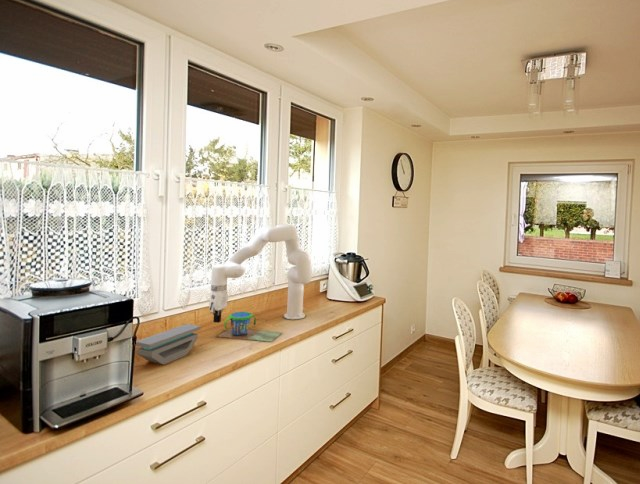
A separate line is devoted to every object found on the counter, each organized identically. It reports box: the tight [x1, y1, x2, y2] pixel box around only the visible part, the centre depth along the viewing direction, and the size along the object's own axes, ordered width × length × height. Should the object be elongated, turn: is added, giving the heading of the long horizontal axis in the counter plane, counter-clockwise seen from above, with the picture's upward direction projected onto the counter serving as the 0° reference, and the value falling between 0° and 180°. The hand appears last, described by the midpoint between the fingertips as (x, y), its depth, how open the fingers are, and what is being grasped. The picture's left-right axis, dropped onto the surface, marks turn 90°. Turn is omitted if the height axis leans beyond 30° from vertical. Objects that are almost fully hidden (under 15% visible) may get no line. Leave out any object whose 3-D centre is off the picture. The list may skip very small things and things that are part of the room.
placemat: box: [216, 327, 282, 343], centre depth 190 cm, size 13×29×1 cm, turn 85°
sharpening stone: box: [135, 323, 201, 366], centre depth 157 cm, size 25×8×11 cm, turn 164°
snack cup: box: [223, 311, 257, 335], centre depth 190 cm, size 16×10×10 cm
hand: (217, 321), depth 191 cm, fingers closed
